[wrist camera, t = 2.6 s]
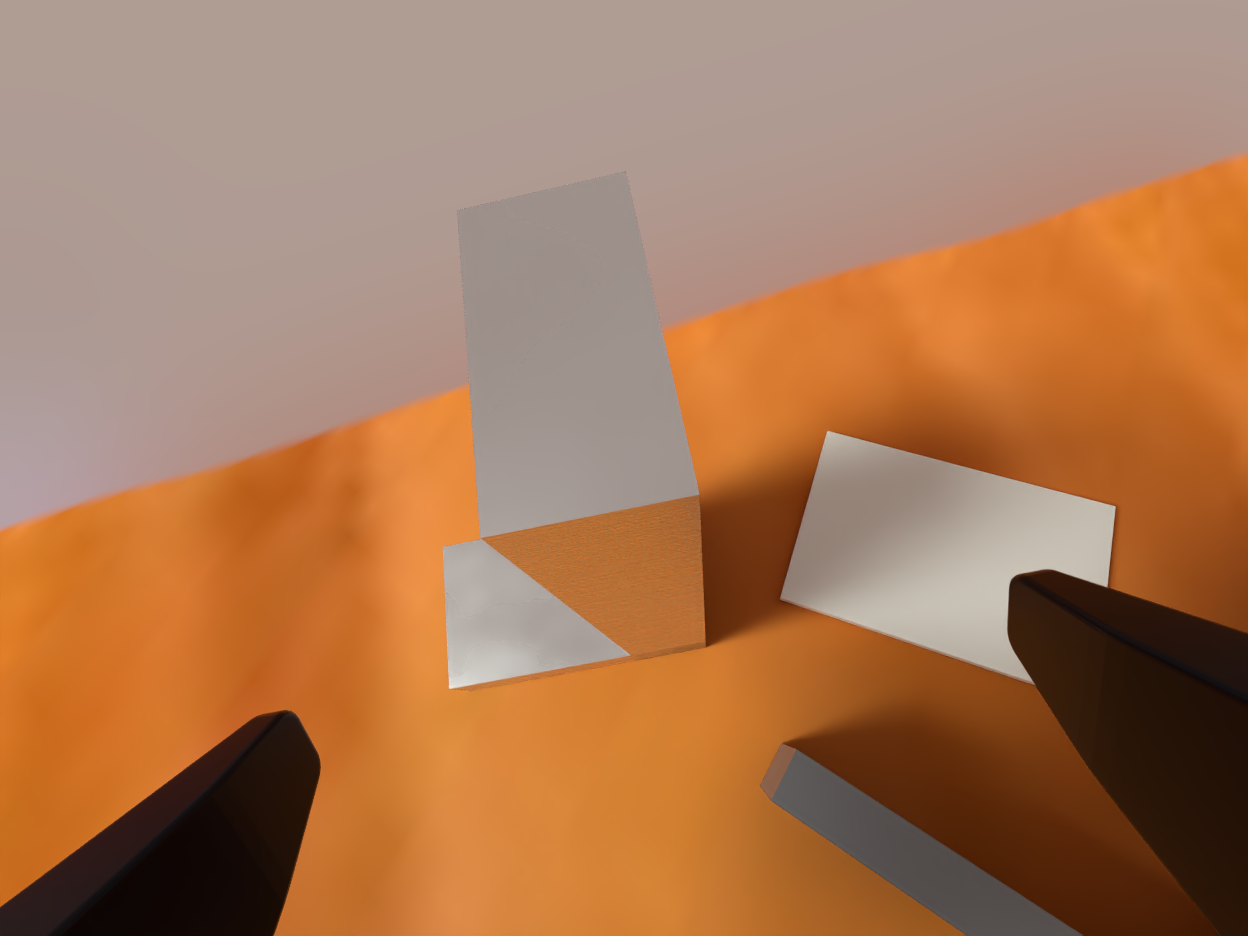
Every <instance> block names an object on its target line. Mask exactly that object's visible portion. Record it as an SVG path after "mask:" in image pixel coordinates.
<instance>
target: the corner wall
mask: <svg viewBox="0 0 1248 936" xmlns="http://www.w3.org/2000/svg"><path fill="white" fill-rule="evenodd" d="M760 786H761V788H762V789H763V790H764V792H765V793H766V795H767V796H768V797H769V799H770V800H771V801H772V802H774V803H775V804H777V805H778V806H779V807H781V808H782V809H784V810H785V811H787V812H788V813H790V814H791V815H793V816H794V817H795V818H797V819H798V820H800V821H801V822H803V823H804V824H806V825H807V826H809V827H810V828H811V829H813V830H814V831H816V832H817V833H819V834H820V835H822V836H823V837H825V838H826V839H827V840H829V841H830V842H832V843H833V844H835V845H836V846H838V847H839V848H840V849H842V850H843V851H845V852H846V853H848V854H849V855H851V856H852V857H854V858H855V859H856V860H858V861H859V862H861V863H862V864H864V865H865V866H867V867H868V868H870V869H871V870H872V871H874V872H875V873H877V874H878V875H880V876H881V877H883V878H884V879H886V880H887V881H888V882H890V883H891V884H893V885H894V886H896V887H897V888H899V889H900V890H901V891H903V892H904V893H906V894H907V895H909V896H910V897H912V898H913V899H915V900H916V901H917V902H919V903H920V904H922V905H923V906H925V907H926V908H928V909H929V910H931V911H932V912H933V913H935V914H936V915H938V916H939V917H941V918H942V919H944V920H945V921H947V922H948V923H949V924H951V925H952V926H954V927H955V928H957V929H958V930H960V931H961V932H963V933H964V934H965V935H967V936H1083V935H1082V934H1080V933H1079V932H1077V931H1076V930H1074V929H1072V928H1071V927H1069V926H1068V925H1066V924H1065V923H1063V922H1062V921H1060V920H1059V919H1057V918H1056V917H1054V916H1052V915H1051V914H1049V913H1048V912H1046V911H1045V910H1043V909H1042V908H1040V907H1039V906H1037V905H1036V904H1034V903H1033V902H1031V901H1029V900H1028V899H1026V898H1025V897H1023V896H1022V895H1020V894H1019V893H1017V892H1016V891H1014V890H1013V889H1011V888H1009V887H1008V886H1006V885H1005V884H1003V883H1002V882H1000V881H999V880H997V879H996V878H994V877H993V876H991V875H989V874H988V873H986V872H985V871H983V870H982V869H980V868H979V867H977V866H976V865H974V864H973V863H971V862H969V861H968V860H966V859H965V858H963V857H962V856H960V855H959V854H957V853H956V852H954V851H953V850H951V849H949V848H948V847H946V846H945V845H943V844H942V843H940V842H939V841H937V840H936V839H934V838H933V837H931V836H929V835H928V834H926V833H925V832H923V831H922V830H920V829H919V828H917V827H916V826H914V825H913V824H911V823H910V822H908V821H906V820H905V819H903V818H902V817H900V816H899V815H897V814H896V813H894V812H893V811H891V810H890V809H888V808H886V807H885V806H883V805H882V804H880V803H879V802H877V801H876V800H874V799H873V798H871V797H870V796H868V795H866V794H865V793H863V792H862V791H860V790H859V789H857V788H856V787H854V786H853V785H851V784H850V783H848V782H846V781H845V780H843V779H842V778H840V777H839V776H837V775H836V774H834V773H833V772H831V771H830V770H828V769H826V768H825V767H823V766H822V765H820V764H819V763H817V762H816V761H814V760H813V759H811V758H810V757H808V756H806V755H805V754H803V753H802V752H800V751H799V750H797V749H795V748H792V747H790V746H787V745H784V744H781V746H780V748H779V750H778V752H777V754H776V756H775V757H774V759H773V761H772V763H771V765H770V767H769V769H768V771H767V773H766V775H765V777H764V779H763V781H762V783H761V785H760Z"/></svg>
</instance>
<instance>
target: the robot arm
mask: <svg viewBox="0 0 1248 936" xmlns="http://www.w3.org/2000/svg"><path fill="white" fill-rule="evenodd" d="M1007 633H1008V639H1009V642H1010V645H1011V647H1012V649H1013V651H1014V653H1015V654H1016V656H1017V657H1018V659H1019V660H1020V662H1021V664H1022V665H1023V667H1024V668H1025V670H1026V671H1027V673H1028V675H1029V676H1030V678H1031V679H1032V681H1033V682H1034V684H1035V686H1036V687H1037V689H1038V690H1039V692H1040V693H1041V695H1042V696H1043V698H1044V700H1045V701H1046V703H1047V704H1048V706H1049V707H1050V709H1051V711H1052V712H1053V714H1054V715H1055V717H1056V718H1057V720H1058V721H1059V723H1060V725H1061V726H1062V728H1063V729H1064V731H1065V732H1066V734H1067V736H1068V737H1069V739H1070V740H1071V742H1072V743H1073V745H1074V746H1075V748H1076V750H1077V751H1078V753H1079V754H1080V755H1081V757H1082V758H1083V760H1084V761H1085V763H1086V764H1087V766H1088V767H1089V769H1090V770H1091V772H1092V773H1093V774H1094V776H1095V777H1096V778H1097V780H1098V781H1099V782H1100V784H1101V785H1102V786H1103V788H1104V789H1105V790H1106V792H1107V793H1108V794H1109V795H1110V797H1111V798H1112V799H1113V800H1114V802H1115V803H1116V804H1117V806H1118V807H1119V808H1120V809H1121V811H1122V812H1123V813H1124V815H1125V816H1126V817H1127V818H1128V820H1129V821H1130V822H1131V823H1132V825H1133V826H1134V827H1135V829H1136V830H1137V831H1138V832H1139V834H1140V835H1141V836H1142V837H1143V839H1144V840H1145V841H1146V843H1147V844H1148V845H1149V846H1150V848H1151V849H1152V850H1153V852H1154V853H1155V854H1156V855H1157V857H1158V858H1159V859H1160V860H1161V862H1162V863H1163V864H1164V866H1165V867H1166V868H1167V869H1168V871H1169V872H1170V873H1171V875H1172V876H1173V877H1174V878H1175V880H1176V881H1177V882H1178V883H1179V885H1180V886H1181V887H1182V889H1183V890H1184V891H1185V892H1186V894H1187V895H1188V896H1189V898H1190V899H1191V900H1192V901H1193V903H1194V904H1195V905H1196V906H1197V908H1198V909H1199V910H1200V912H1201V913H1202V914H1203V915H1204V917H1205V918H1206V919H1207V920H1208V922H1209V923H1210V924H1211V926H1212V927H1213V928H1214V929H1215V931H1216V932H1217V933H1218V935H1219V936H1248V633H1246V632H1243V631H1239V630H1236V629H1233V628H1230V627H1227V626H1224V625H1221V624H1218V623H1215V622H1212V621H1209V620H1206V619H1203V618H1200V617H1197V616H1193V615H1190V614H1187V613H1184V612H1181V611H1178V610H1175V609H1172V608H1169V607H1166V606H1163V605H1160V604H1157V603H1154V602H1151V601H1148V600H1144V599H1141V598H1138V597H1135V596H1132V595H1129V594H1126V593H1123V592H1120V591H1117V590H1114V589H1111V588H1108V587H1105V586H1102V585H1099V584H1095V583H1092V582H1089V581H1086V580H1083V579H1080V578H1077V577H1074V576H1071V575H1068V574H1065V573H1062V572H1059V571H1056V570H1052V569H1043V570H1038V571H1032V572H1027V573H1022V574H1018V575H1016V576H1014V577H1013V578H1012V579H1011V581H1010V584H1009V597H1008V620H1007ZM320 768H321V766H320V758H319V755H318V752H317V751H316V749H315V747H314V745H313V743H312V741H311V740H310V738H309V736H308V734H307V732H306V730H305V729H304V727H303V725H302V723H301V721H300V719H299V718H298V716H297V715H296V714H295V713H293V712H292V711H288V710H283V711H278V712H272V713H267V714H262V715H259V716H256V717H254V718H253V719H251V720H250V721H249V722H247V723H246V724H245V725H243V726H242V727H241V728H239V729H238V730H237V731H235V732H234V733H233V734H231V735H230V736H229V737H227V738H226V739H224V740H223V741H222V742H220V743H219V744H218V745H216V746H215V747H214V748H212V749H211V750H210V751H208V752H207V753H206V754H204V755H203V756H202V757H200V758H199V759H198V760H196V761H195V762H194V763H192V764H191V765H190V766H188V767H187V768H186V769H184V770H183V771H182V772H180V773H179V774H178V775H176V776H175V777H174V778H172V779H171V780H170V781H168V782H167V783H166V784H164V785H163V786H162V787H160V788H159V789H158V790H156V791H155V792H154V793H152V794H151V795H150V796H148V797H147V798H146V799H144V800H143V801H142V802H140V803H139V804H138V805H136V806H135V807H134V808H132V809H131V810H130V811H128V812H127V813H126V814H124V815H123V816H122V817H120V818H119V819H118V820H116V821H115V822H114V823H112V824H111V825H110V826H108V827H107V828H106V829H104V830H103V831H102V832H100V833H99V834H97V835H96V836H95V837H93V838H92V839H91V840H89V841H88V842H87V843H85V844H84V845H83V846H81V847H80V848H79V849H77V850H76V851H75V852H73V853H72V854H71V855H69V856H68V857H67V858H65V859H64V860H63V861H61V862H60V863H59V864H57V865H56V866H55V867H53V868H52V869H51V870H49V871H48V872H47V873H45V874H44V875H43V876H41V877H40V878H39V879H37V880H36V881H35V882H33V883H32V884H31V885H29V886H28V887H27V888H25V889H24V890H23V891H21V892H20V893H19V894H17V895H16V896H15V897H13V898H12V899H11V900H9V901H8V902H7V903H5V904H4V905H3V906H1V907H0V936H274V933H275V931H276V928H277V925H278V922H279V919H280V916H281V913H282V910H283V907H284V904H285V901H286V897H287V894H288V891H289V887H290V884H291V881H292V877H293V873H294V870H295V866H296V862H297V858H298V855H299V851H300V847H301V844H302V840H303V836H304V832H305V829H306V825H307V821H308V818H309V814H310V810H311V806H312V803H313V799H314V795H315V792H316V788H317V784H318V781H319V776H320Z"/></svg>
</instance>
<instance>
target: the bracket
mask: <svg viewBox="0 0 1248 936" xmlns="http://www.w3.org/2000/svg"><path fill="white" fill-rule="evenodd" d="M457 216H458V231H459V243H460V244H459V245H460V259H461V273H462V286H463V300H464V315H465V329H466V343H467V357H468V371H469V385H470V399H471V414H472V428H473V442H474V456H475V470H476V484H477V498H478V512H479V526H480V538H481V540H476V541H470V542H465V543H460V544H455V545H450V546H445V547H443V560H444V582H445V604H446V626H447V649H448V671H449V689H454V690H464V691H473V690H478V689H484V688H489V687H494V686H500V685H505V684H511V683H516V682H522V681H527V680H532V679H538V678H543V677H549V676H554V675H559V674H565V673H570V672H576V671H581V670H587V669H592V668H597V667H603V666H608V665H614V664H619V663H624V662H630V661H635V660H641V659H646V658H652V657H657V656H662V655H668V654H673V653H679V652H684V651H689V650H695V649H700V648H706V639H705V615H704V590H703V565H702V540H701V516H700V494H699V489H698V485H697V481H696V476H695V472H694V468H693V463H692V459H691V454H690V450H689V446H688V441H687V437H686V433H685V428H684V424H683V419H682V415H681V411H680V406H679V402H678V398H677V393H676V389H675V384H674V380H673V376H672V371H671V367H670V363H669V358H668V354H667V349H666V345H665V341H664V336H663V332H662V328H661V324H660V319H659V314H658V310H657V306H656V301H655V297H654V293H653V288H652V284H651V279H650V275H649V271H648V266H647V262H646V258H645V253H644V249H643V244H642V240H641V236H640V231H639V227H638V223H637V218H636V214H635V209H634V205H633V201H632V197H631V192H630V187H629V184H628V179H627V175H626V172H621V173H617V174H612V175H608V176H604V177H599V178H595V179H591V180H586V181H582V182H578V183H573V184H569V185H565V186H561V187H556V188H552V189H548V190H543V191H539V192H534V193H530V194H526V195H521V196H517V197H513V198H508V199H504V200H500V201H495V202H491V203H487V204H483V205H478V206H474V207H469V208H465V209H461V210H457Z"/></svg>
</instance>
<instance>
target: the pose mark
mask: <svg viewBox="0 0 1248 936" xmlns="http://www.w3.org/2000/svg"><path fill="white" fill-rule="evenodd" d="M1115 508H1116V506H1112V505H1108V504H1105V503H1101V502H1097V501H1093V500H1089V499H1085V498H1082V497H1078V496H1074V495H1070V494H1066V493H1063V492H1059V491H1055V490H1051V489H1047V488H1044V487H1040V486H1036V485H1032V484H1028V483H1024V482H1021V481H1017V480H1013V479H1009V478H1005V477H1002V476H998V475H994V474H990V473H986V472H983V471H979V470H975V469H971V468H967V467H964V466H960V465H956V464H952V463H948V462H944V461H941V460H937V459H933V458H929V457H925V456H922V455H918V454H914V453H910V452H906V451H903V450H899V449H895V448H891V447H887V446H883V445H880V444H876V443H872V442H868V441H864V440H861V439H857V438H853V437H849V436H845V435H842V434H838V433H834V432H830V431H827V434H826V437H825V440H824V444H823V447H822V451H821V454H820V458H819V461H818V465H817V469H816V472H815V476H814V479H813V483H812V486H811V490H810V493H809V497H808V500H807V504H806V507H805V511H804V515H803V518H802V522H801V525H800V529H799V532H798V536H797V539H796V543H795V546H794V550H793V553H792V557H791V561H790V564H789V568H788V571H787V575H786V578H785V582H784V585H783V589H782V592H781V596H780V599H779V600H782V601H785V602H788V603H791V604H794V605H797V606H800V607H803V608H806V609H809V610H812V611H815V612H818V613H821V614H824V615H827V616H830V617H833V618H836V619H839V620H842V621H845V622H848V623H851V624H854V625H857V626H860V627H863V628H865V629H868V630H871V631H874V632H877V633H880V634H883V635H886V636H889V637H892V638H895V639H898V640H901V641H904V642H907V643H910V644H913V645H916V646H919V647H922V648H925V649H928V650H931V651H934V652H937V653H940V654H943V655H946V656H949V657H952V658H955V659H958V660H961V661H963V662H966V663H969V664H972V665H975V666H978V667H981V668H984V669H987V670H990V671H993V672H996V673H999V674H1002V675H1005V676H1008V677H1011V678H1014V679H1017V680H1020V681H1023V682H1026V683H1029V684H1032V685H1035V684H1034V682H1033V681H1032V679H1031V678H1030V676H1029V675H1028V673H1027V671H1026V670H1025V668H1024V667H1023V665H1022V664H1021V662H1020V660H1019V659H1018V657H1017V656H1016V654H1015V653H1014V651H1013V649H1012V647H1011V645H1010V642H1009V639H1008V633H1007V620H1008V597H1009V584H1010V581H1011V579H1012V578H1013V577H1014V576H1016V575H1018V574H1022V573H1027V572H1032V571H1038V570H1043V569H1052V570H1056V571H1059V572H1062V573H1065V574H1068V575H1071V576H1074V577H1077V578H1080V579H1083V580H1086V581H1089V582H1092V583H1095V584H1099V585H1102V586H1105V587H1107V585H1108V576H1109V566H1110V556H1111V547H1112V537H1113V528H1114V518H1115Z"/></svg>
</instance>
